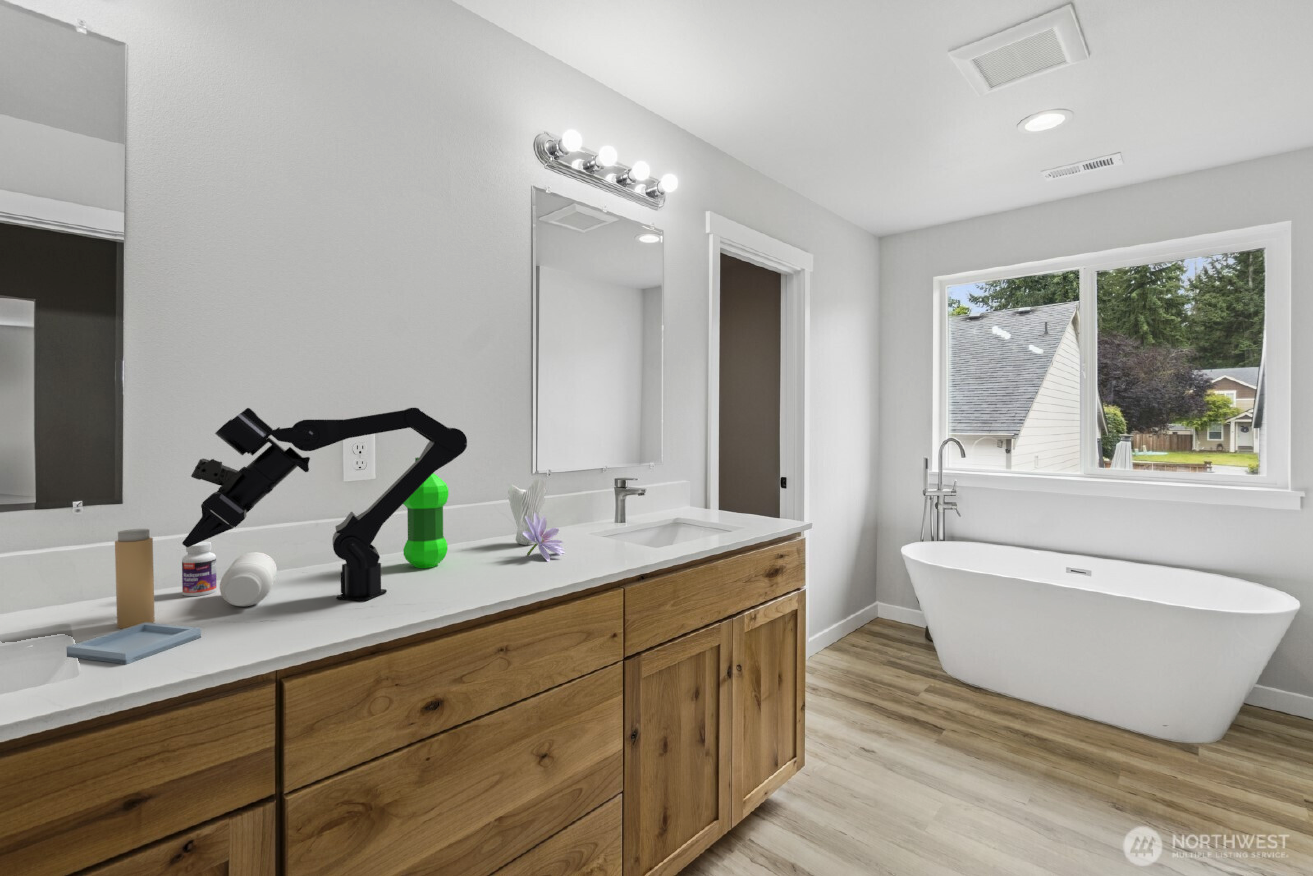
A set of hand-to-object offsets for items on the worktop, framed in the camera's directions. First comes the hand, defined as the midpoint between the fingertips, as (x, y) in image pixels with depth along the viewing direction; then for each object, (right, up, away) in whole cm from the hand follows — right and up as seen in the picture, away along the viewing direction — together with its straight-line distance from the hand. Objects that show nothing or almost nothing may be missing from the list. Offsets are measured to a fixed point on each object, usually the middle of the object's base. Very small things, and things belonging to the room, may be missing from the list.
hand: (189, 540), depth 107 cm
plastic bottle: (+26, -12, +38) cm, 48 cm away
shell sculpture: (+45, -11, +62) cm, 78 cm away
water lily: (+52, -12, +47) cm, 72 cm away
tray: (+2, -14, -13) cm, 19 cm away
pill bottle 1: (-9, -13, +15) cm, 22 cm away
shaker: (-7, -13, -3) cm, 15 cm away
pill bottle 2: (+1, -9, +16) cm, 19 cm away
